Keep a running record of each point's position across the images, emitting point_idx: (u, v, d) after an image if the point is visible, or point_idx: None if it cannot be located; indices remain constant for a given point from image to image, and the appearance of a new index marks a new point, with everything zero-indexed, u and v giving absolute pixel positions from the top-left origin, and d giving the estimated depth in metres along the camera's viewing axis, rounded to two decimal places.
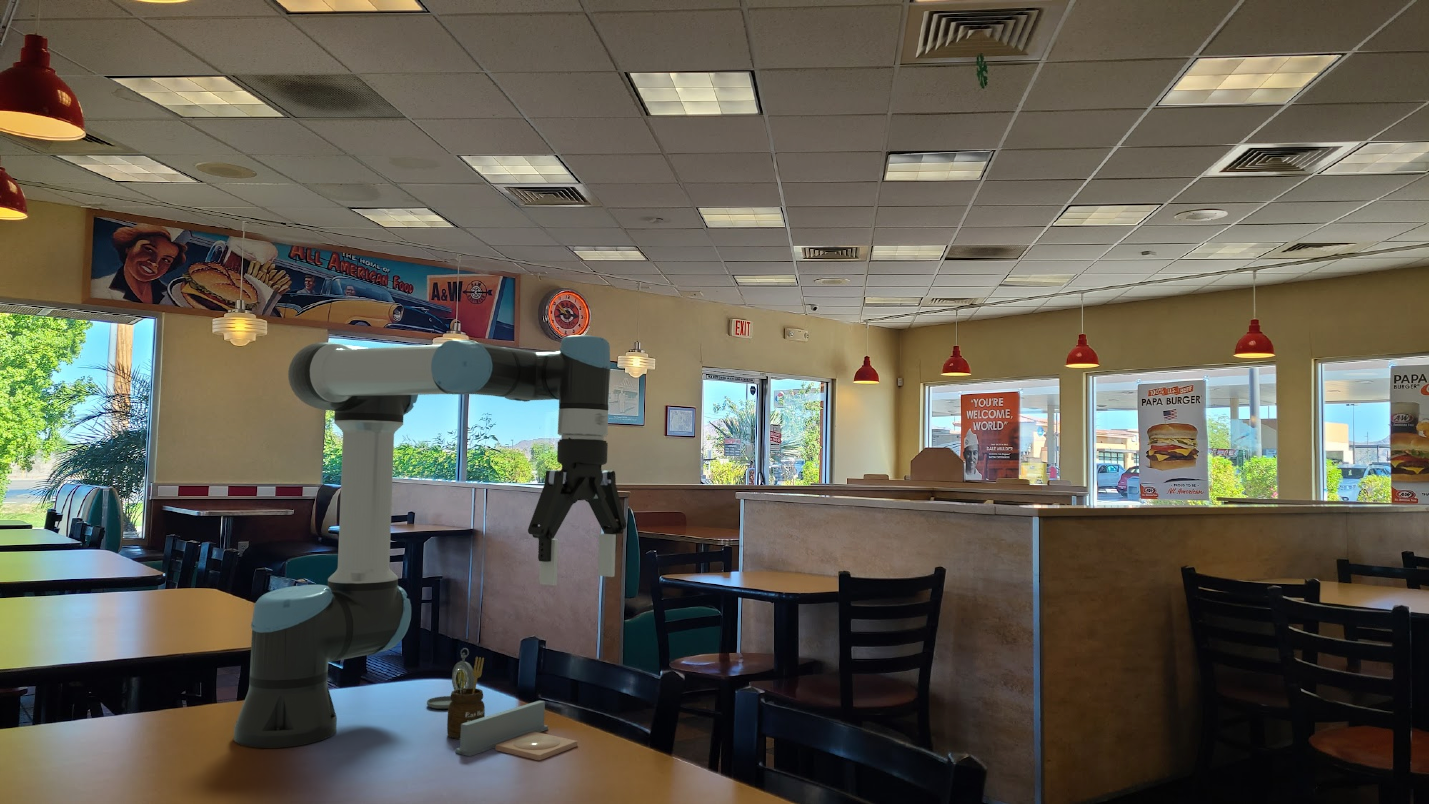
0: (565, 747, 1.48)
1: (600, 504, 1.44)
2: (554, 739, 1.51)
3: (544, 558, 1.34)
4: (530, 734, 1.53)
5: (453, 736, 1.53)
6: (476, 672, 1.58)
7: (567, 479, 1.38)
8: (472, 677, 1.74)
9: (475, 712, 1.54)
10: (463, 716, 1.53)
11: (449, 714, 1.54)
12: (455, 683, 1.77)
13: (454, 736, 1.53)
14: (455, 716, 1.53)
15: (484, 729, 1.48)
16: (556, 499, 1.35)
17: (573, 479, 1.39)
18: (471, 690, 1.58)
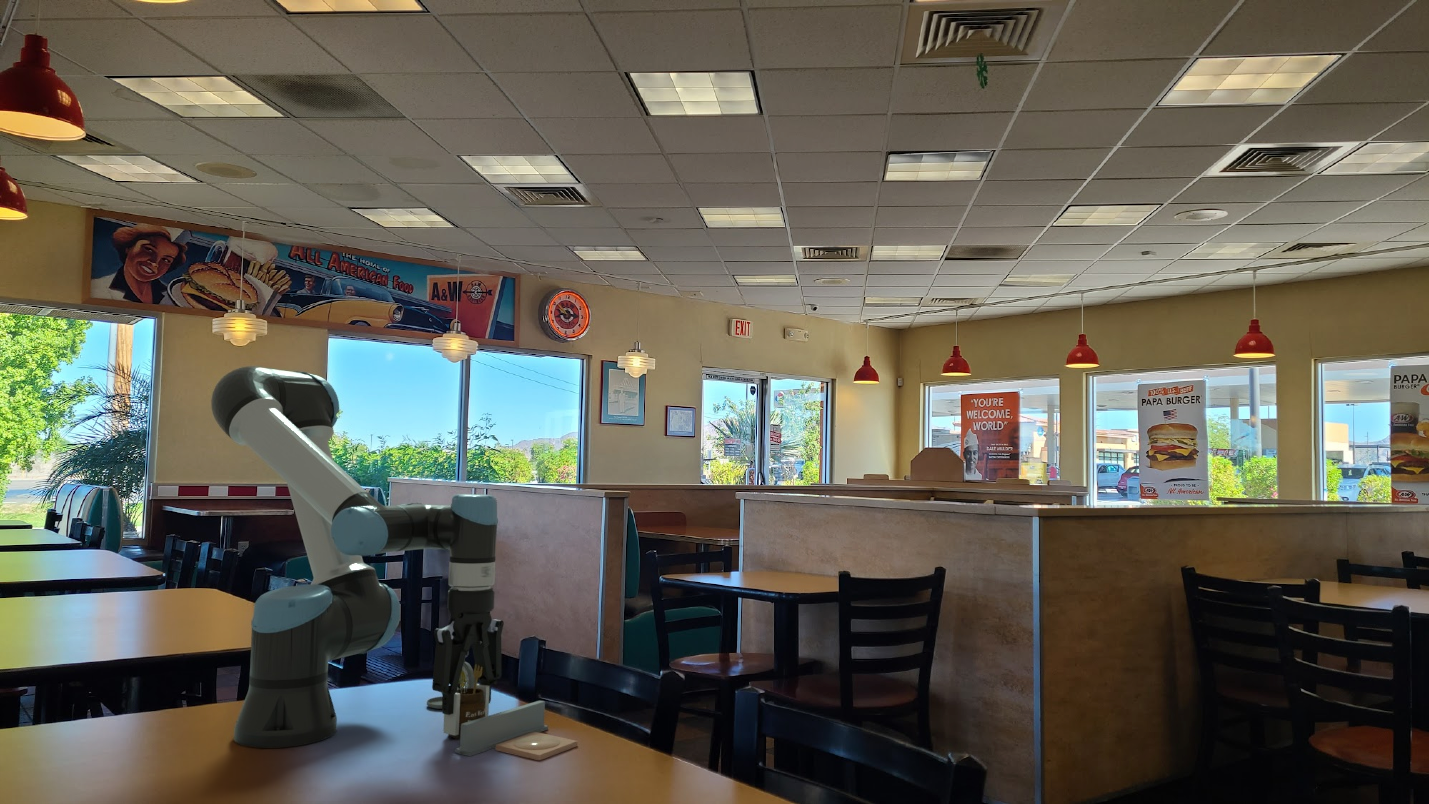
0: (565, 747, 1.48)
1: (481, 650, 1.57)
2: (554, 739, 1.51)
3: (447, 711, 1.51)
4: (530, 734, 1.53)
5: (453, 736, 1.53)
6: (476, 672, 1.58)
7: (455, 630, 1.53)
8: (472, 677, 1.74)
9: (475, 712, 1.54)
10: (463, 716, 1.53)
11: None
12: None
13: (455, 736, 1.53)
14: None
15: (484, 729, 1.48)
16: (449, 656, 1.51)
17: (461, 628, 1.53)
18: (471, 690, 1.58)
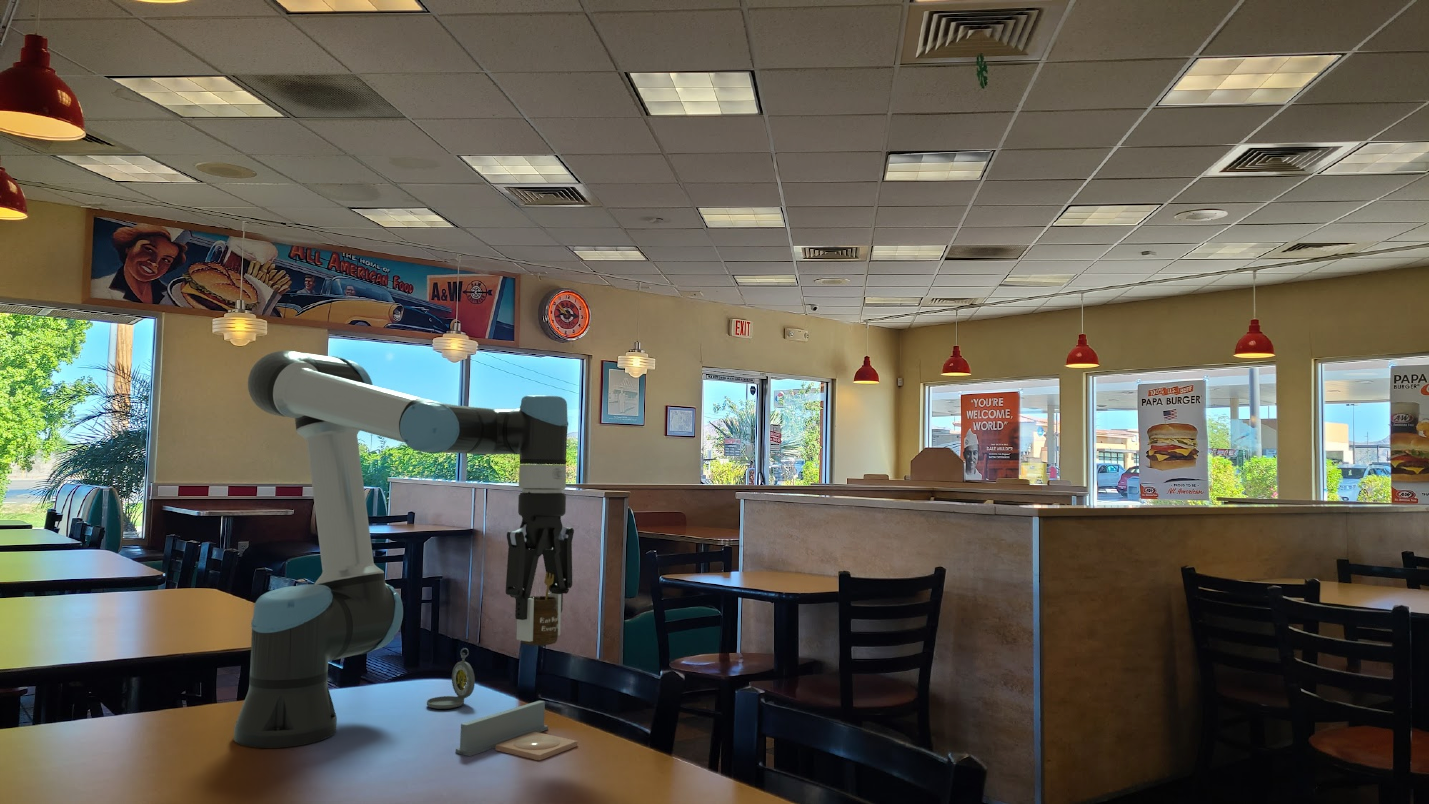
0: (565, 747, 1.48)
1: (553, 557, 1.52)
2: (554, 739, 1.51)
3: (521, 616, 1.46)
4: (530, 734, 1.53)
5: (527, 643, 1.48)
6: (548, 579, 1.53)
7: (528, 533, 1.48)
8: (472, 677, 1.74)
9: (549, 618, 1.48)
10: (537, 621, 1.47)
11: None
12: (455, 683, 1.77)
13: (528, 642, 1.48)
14: None
15: (484, 729, 1.48)
16: (523, 558, 1.46)
17: (533, 531, 1.48)
18: (543, 598, 1.53)
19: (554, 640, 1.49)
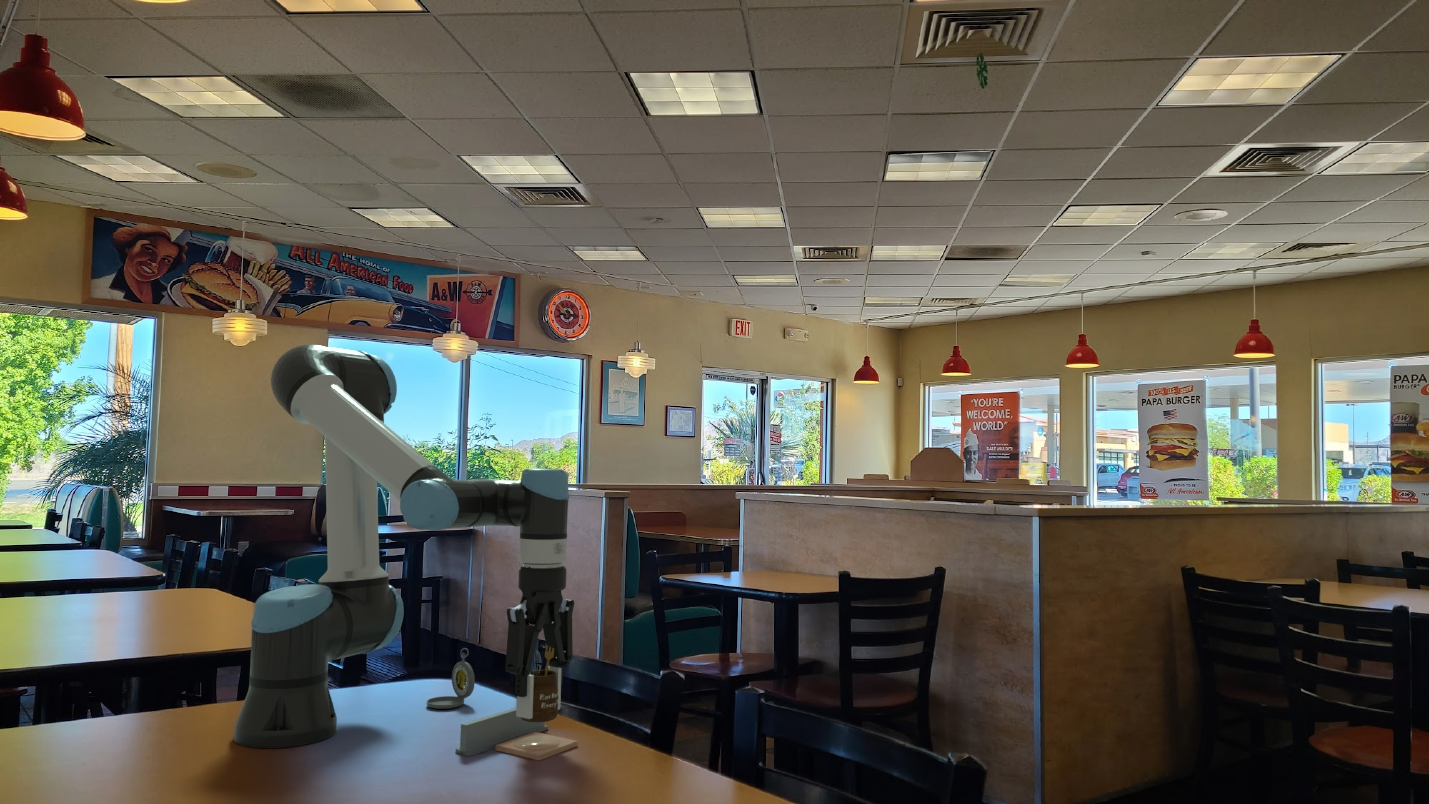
0: (565, 747, 1.48)
1: (553, 631, 1.51)
2: (554, 739, 1.51)
3: (520, 694, 1.45)
4: (530, 734, 1.53)
5: (527, 720, 1.47)
6: (548, 653, 1.52)
7: (528, 609, 1.47)
8: (472, 677, 1.74)
9: (549, 694, 1.47)
10: (537, 698, 1.46)
11: None
12: (455, 683, 1.77)
13: (528, 719, 1.47)
14: None
15: (484, 729, 1.48)
16: (523, 636, 1.45)
17: (533, 607, 1.47)
18: (543, 672, 1.52)
19: (554, 716, 1.48)
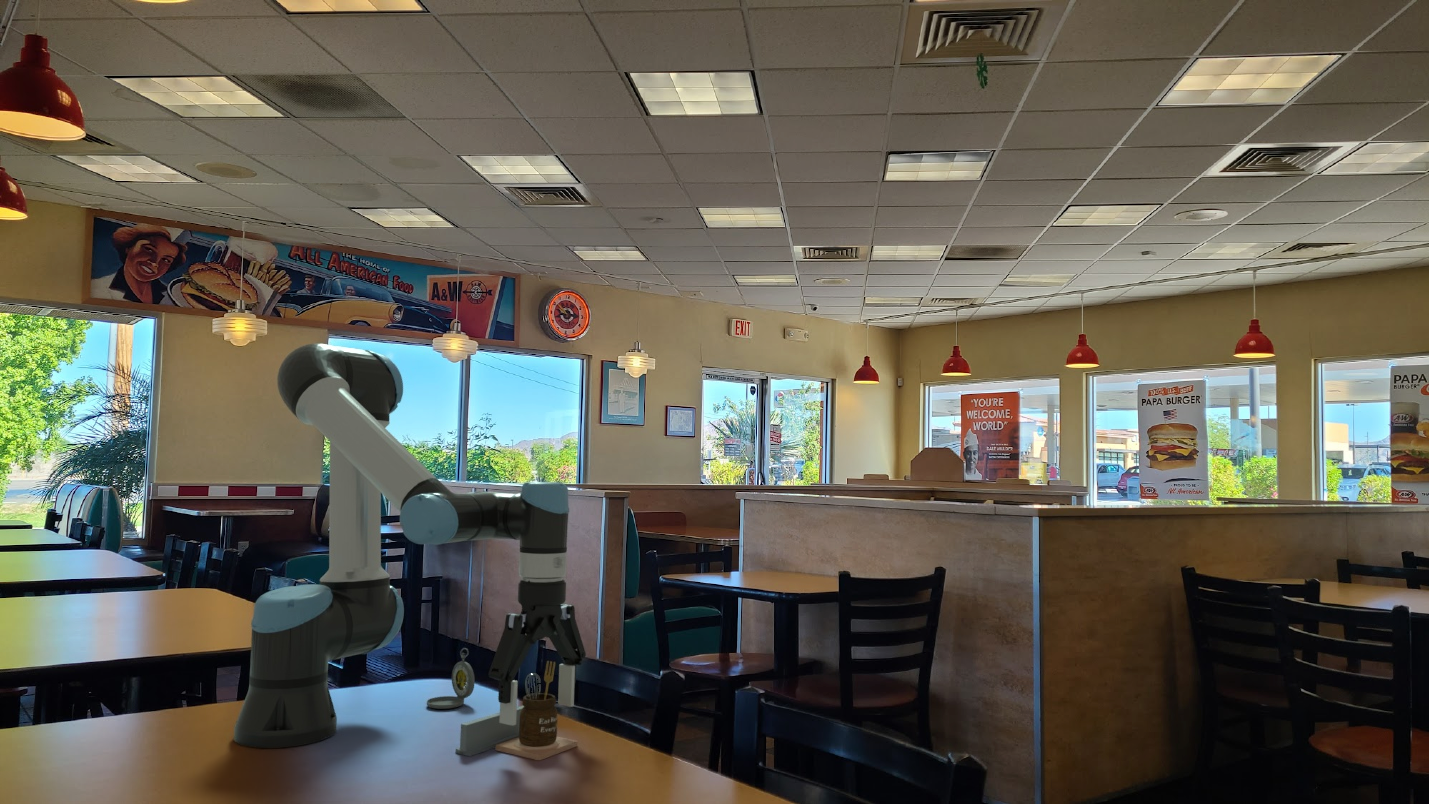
0: (565, 747, 1.48)
1: (559, 639, 1.52)
2: None
3: (504, 700, 1.42)
4: None
5: (526, 744, 1.47)
6: (547, 677, 1.52)
7: (526, 621, 1.46)
8: (472, 677, 1.74)
9: (549, 718, 1.47)
10: (536, 722, 1.46)
11: (522, 720, 1.47)
12: (455, 683, 1.77)
13: (527, 743, 1.46)
14: (528, 723, 1.47)
15: (484, 729, 1.48)
16: (515, 643, 1.43)
17: (532, 621, 1.47)
18: (542, 695, 1.52)
19: (553, 740, 1.48)
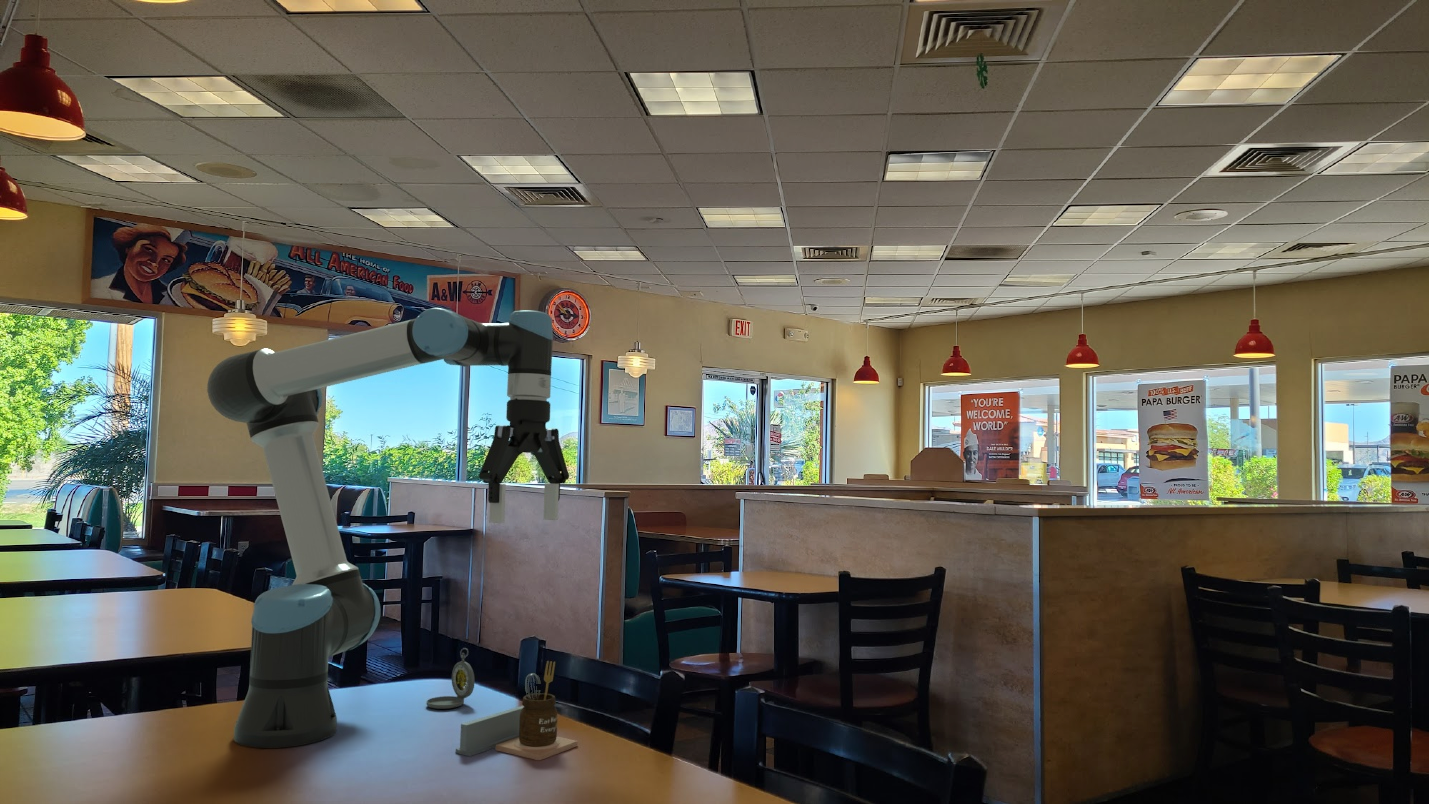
0: (565, 747, 1.48)
1: (544, 457, 1.67)
2: None
3: (493, 500, 1.57)
4: None
5: (526, 744, 1.47)
6: (547, 677, 1.52)
7: (514, 433, 1.61)
8: (472, 677, 1.74)
9: (549, 718, 1.47)
10: (536, 723, 1.46)
11: (521, 721, 1.47)
12: (455, 683, 1.77)
13: (527, 744, 1.46)
14: (528, 723, 1.47)
15: (484, 729, 1.48)
16: (503, 450, 1.58)
17: (519, 434, 1.62)
18: (542, 695, 1.52)
19: (553, 740, 1.48)
